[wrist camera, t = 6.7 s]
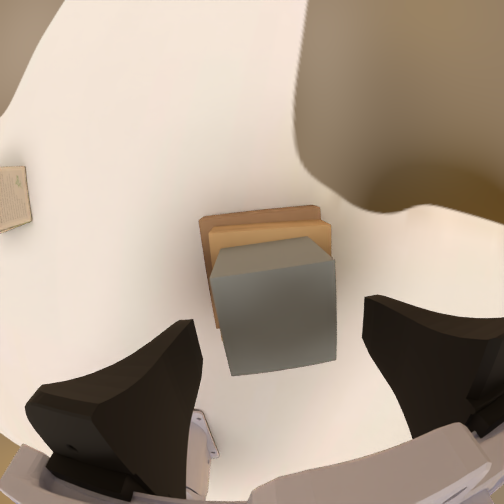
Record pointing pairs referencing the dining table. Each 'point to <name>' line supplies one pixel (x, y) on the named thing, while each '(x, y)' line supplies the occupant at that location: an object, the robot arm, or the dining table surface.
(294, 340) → the slate cube
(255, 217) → the walnut base block
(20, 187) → the syrup box
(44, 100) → the dining table surface
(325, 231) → the oak top block
